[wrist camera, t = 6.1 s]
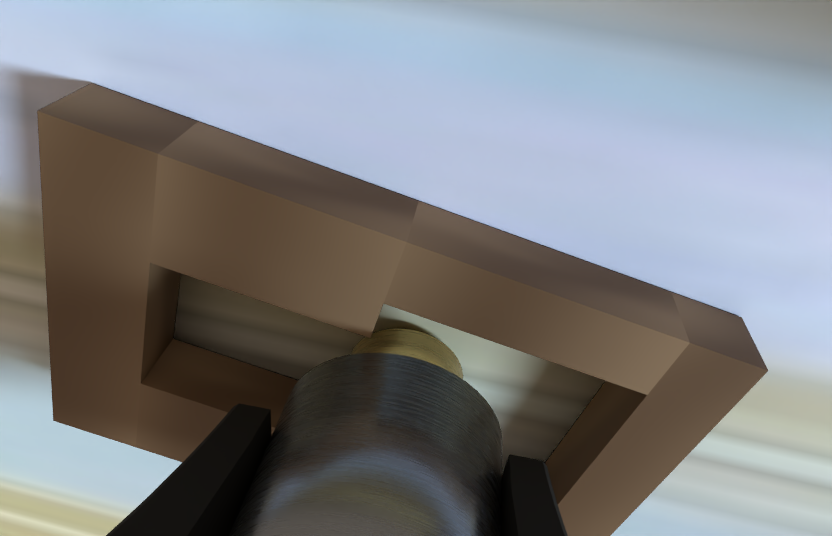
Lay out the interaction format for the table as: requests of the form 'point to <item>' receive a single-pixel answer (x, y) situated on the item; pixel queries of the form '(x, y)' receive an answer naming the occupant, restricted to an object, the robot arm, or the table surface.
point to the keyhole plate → (342, 297)
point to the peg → (380, 449)
